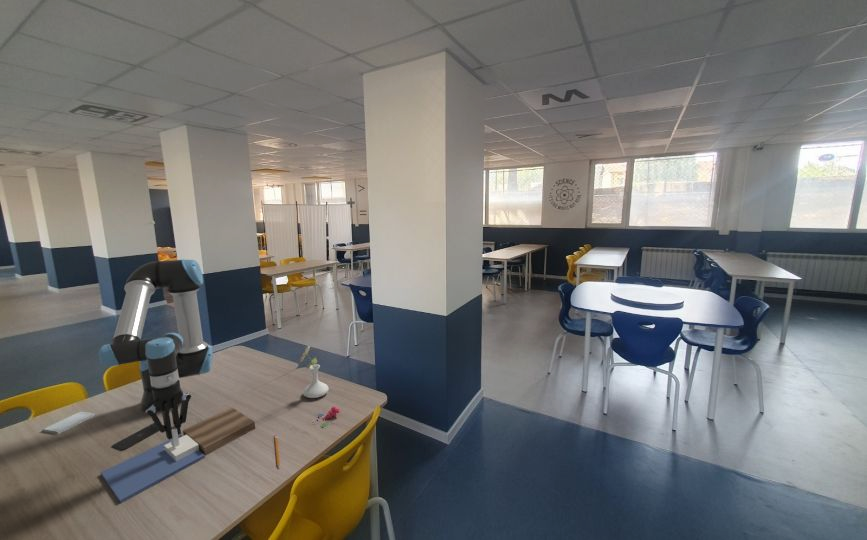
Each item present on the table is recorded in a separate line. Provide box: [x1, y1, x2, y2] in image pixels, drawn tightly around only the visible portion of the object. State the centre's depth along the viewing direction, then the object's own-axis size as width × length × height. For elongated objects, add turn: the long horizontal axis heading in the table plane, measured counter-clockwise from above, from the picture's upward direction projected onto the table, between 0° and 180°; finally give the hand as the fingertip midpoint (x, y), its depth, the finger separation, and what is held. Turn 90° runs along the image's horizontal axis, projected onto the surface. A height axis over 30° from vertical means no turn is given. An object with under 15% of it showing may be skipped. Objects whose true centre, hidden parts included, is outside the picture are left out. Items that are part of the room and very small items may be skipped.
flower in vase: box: [299, 345, 330, 399], centre depth 156 cm, size 13×11×25 cm
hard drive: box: [41, 411, 96, 435], centre depth 138 cm, size 2×8×12 cm
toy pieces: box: [312, 405, 341, 427], centre depth 139 cm, size 12×11×4 cm
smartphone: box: [111, 422, 164, 452], centre depth 130 cm, size 7×1×15 cm
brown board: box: [182, 407, 256, 456], centre depth 131 cm, size 18×18×3 cm
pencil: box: [273, 434, 281, 470], centre depth 121 cm, size 1×1×19 cm
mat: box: [100, 434, 206, 504], centre depth 114 cm, size 20×22×1 cm
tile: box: [164, 435, 199, 461], centre depth 120 cm, size 10×7×2 cm
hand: (175, 444), depth 119 cm, fingers closed
